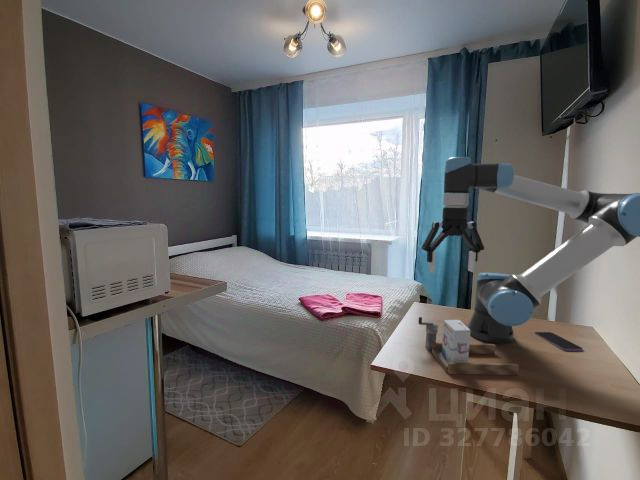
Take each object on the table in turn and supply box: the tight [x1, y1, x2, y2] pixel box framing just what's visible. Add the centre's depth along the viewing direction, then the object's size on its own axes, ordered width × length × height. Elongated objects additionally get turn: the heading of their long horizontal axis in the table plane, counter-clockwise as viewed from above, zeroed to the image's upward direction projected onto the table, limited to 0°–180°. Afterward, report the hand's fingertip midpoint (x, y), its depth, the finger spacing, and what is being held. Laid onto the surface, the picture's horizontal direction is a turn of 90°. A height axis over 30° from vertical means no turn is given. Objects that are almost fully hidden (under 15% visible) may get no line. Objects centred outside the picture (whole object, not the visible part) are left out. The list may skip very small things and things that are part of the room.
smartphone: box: [534, 331, 584, 352], centre depth 121 cm, size 7×1×15 cm
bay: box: [417, 316, 520, 376], centre depth 104 cm, size 24×17×11 cm
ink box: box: [441, 319, 471, 363], centre depth 102 cm, size 9×5×12 cm, turn 2°
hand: (451, 271), depth 112 cm, fingers open, 13 cm apart
